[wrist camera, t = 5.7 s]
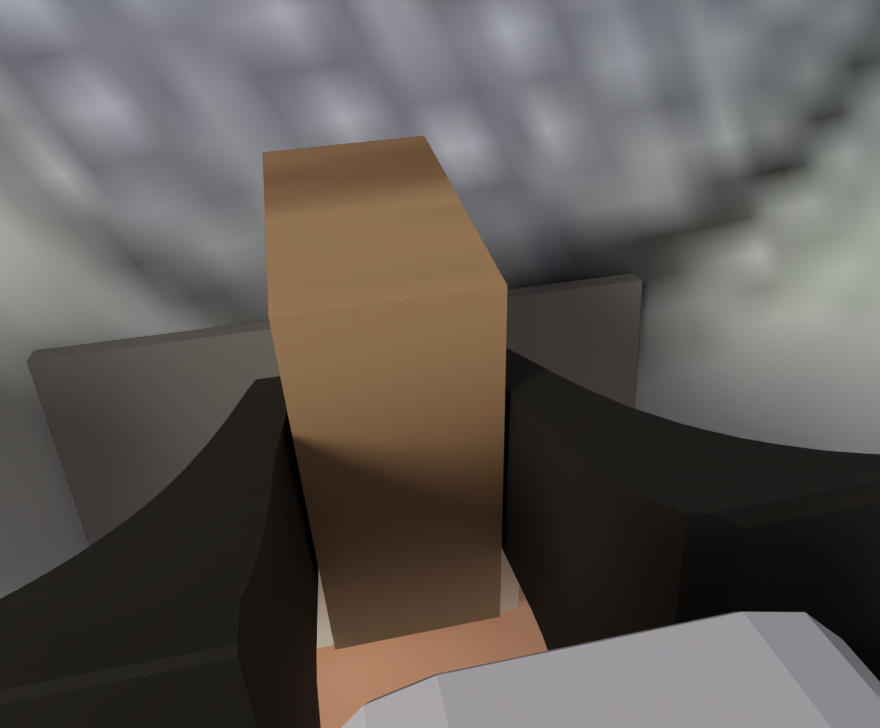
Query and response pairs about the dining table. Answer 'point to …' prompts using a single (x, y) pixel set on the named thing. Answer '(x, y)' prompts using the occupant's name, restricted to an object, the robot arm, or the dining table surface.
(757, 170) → the dining table surface
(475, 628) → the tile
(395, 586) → the tall cardboard box
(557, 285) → the mat
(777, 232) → the dining table surface
